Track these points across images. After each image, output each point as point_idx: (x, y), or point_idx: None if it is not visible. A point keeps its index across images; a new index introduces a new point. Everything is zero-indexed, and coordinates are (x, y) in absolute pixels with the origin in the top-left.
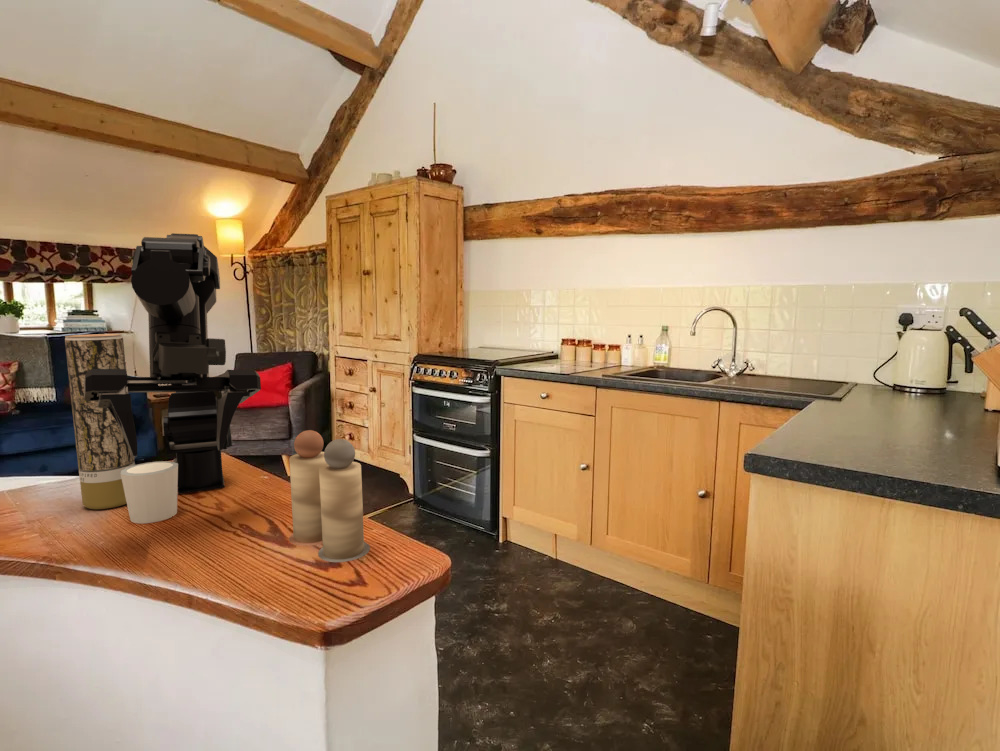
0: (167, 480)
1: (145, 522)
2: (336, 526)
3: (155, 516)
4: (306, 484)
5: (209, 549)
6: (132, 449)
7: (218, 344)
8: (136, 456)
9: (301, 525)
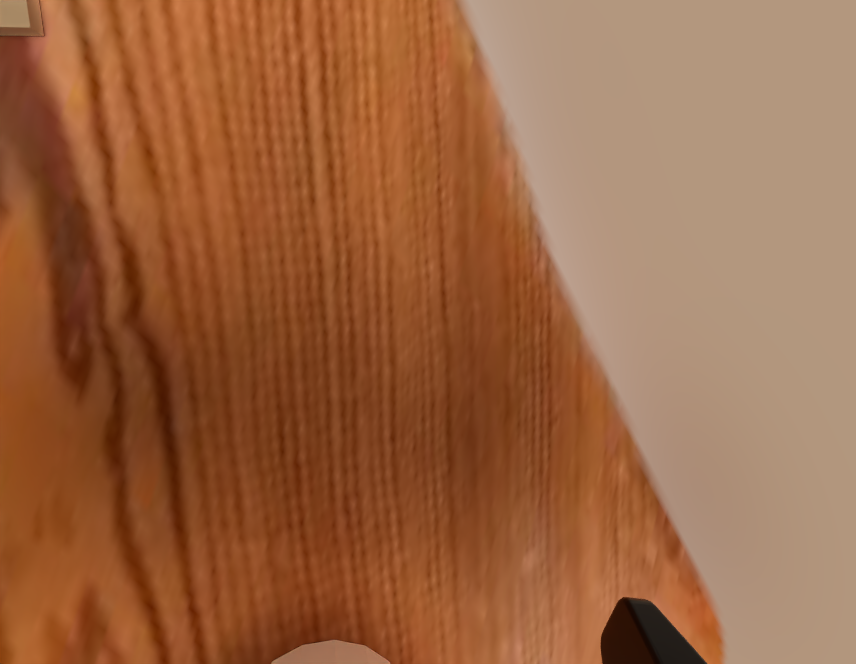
0: None
1: (373, 651)
2: None
3: (341, 655)
4: None
5: (275, 210)
6: (680, 635)
7: None
8: (608, 621)
9: None
